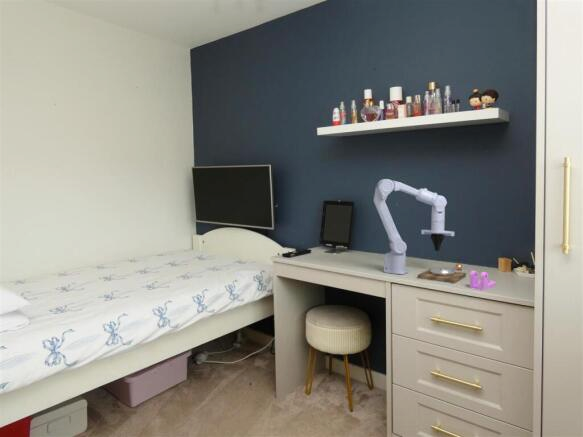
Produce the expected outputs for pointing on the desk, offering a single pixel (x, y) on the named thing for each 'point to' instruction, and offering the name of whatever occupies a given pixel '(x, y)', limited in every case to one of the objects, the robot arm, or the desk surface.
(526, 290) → the desk surface
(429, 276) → the dial plate
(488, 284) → the bracket
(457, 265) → the dial
